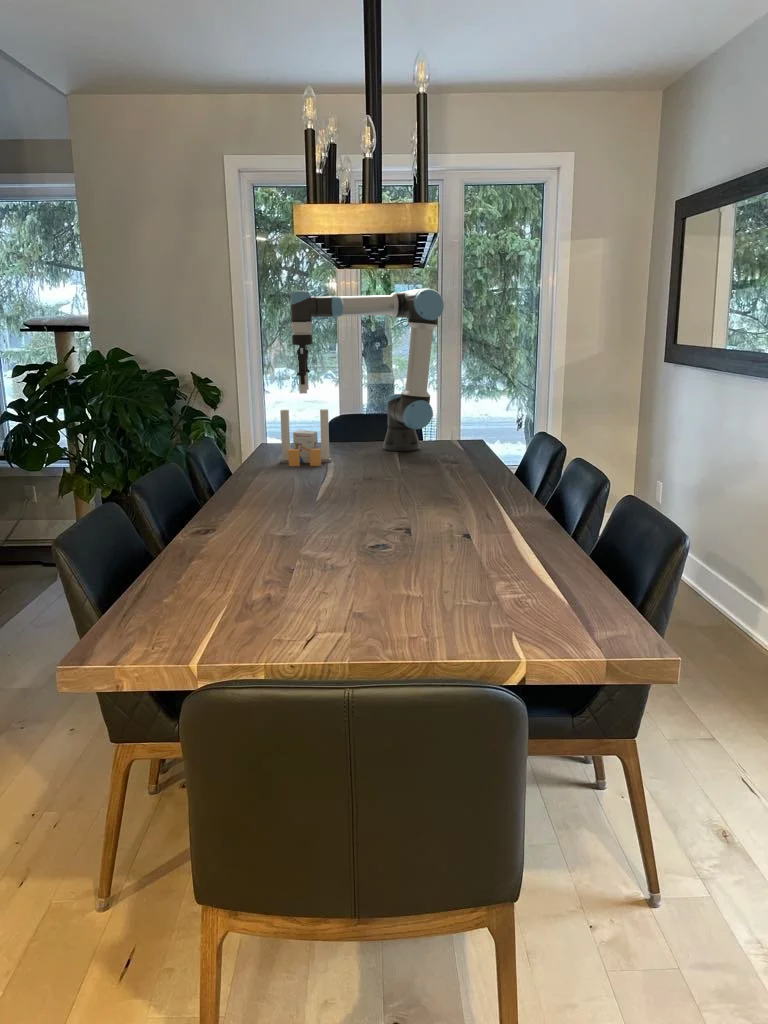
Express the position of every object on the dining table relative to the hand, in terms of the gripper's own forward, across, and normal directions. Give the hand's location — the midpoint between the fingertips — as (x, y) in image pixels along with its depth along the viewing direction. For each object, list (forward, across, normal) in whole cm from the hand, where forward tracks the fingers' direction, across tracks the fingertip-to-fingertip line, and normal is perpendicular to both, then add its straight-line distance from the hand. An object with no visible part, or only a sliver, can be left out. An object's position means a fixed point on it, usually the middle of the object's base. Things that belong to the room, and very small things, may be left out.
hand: (304, 391), depth 289 cm
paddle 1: (+27, +7, -4) cm, 28 cm away
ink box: (+27, 0, 0) cm, 27 cm away
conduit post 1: (+27, 0, -8) cm, 28 cm away
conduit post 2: (+27, 0, +7) cm, 28 cm away
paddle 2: (+27, +7, +4) cm, 28 cm away
